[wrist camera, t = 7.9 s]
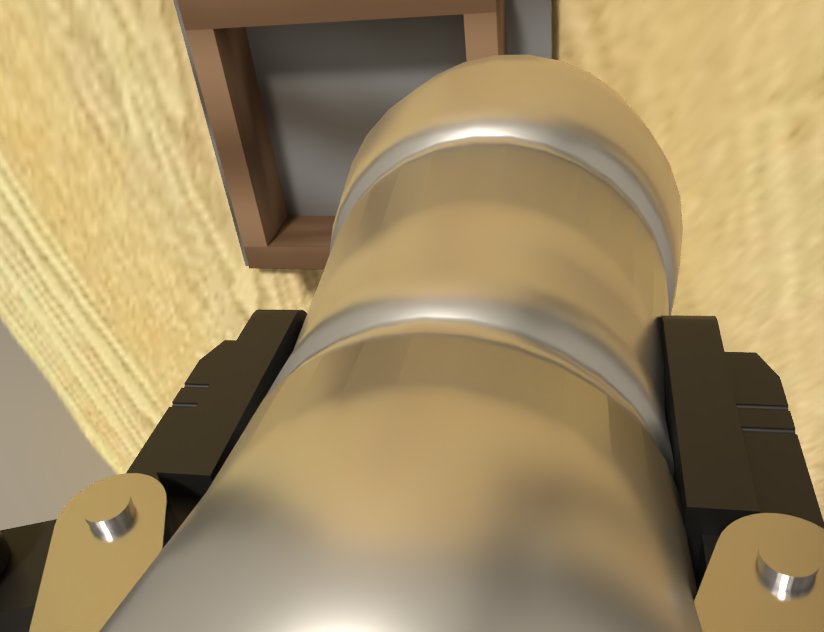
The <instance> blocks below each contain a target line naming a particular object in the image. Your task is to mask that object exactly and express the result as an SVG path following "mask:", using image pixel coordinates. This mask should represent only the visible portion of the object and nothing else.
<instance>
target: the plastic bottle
mask: <svg viewBox="0 0 824 632" xmlns="http://www.w3.org/2000/svg"><path fill="white" fill-rule="evenodd" d="M682 231H683V226H682V214H681V202H680V195H679V191H678V188H677V185H676V182H675V179H674V176H673V173H672V169H671V166H670V164H669V162H668V160H667V159H666V157H665V155H664V153H663V152H662V150H661V148H660V147H659V145H658V143H657V142H656V140H655V138H654V137H653V135H652V133H651V132H650V130H649V129H648V128H647V126H646V125H645V123H644V122H643V121H642V119H641V118H640V116H639V115H638V114H637V113H636V112H635V111H634V110H633V108H632V107H631V106H630V105H629V104H628V103H627V102H626V101H625V100H624V99H623V98H622V97H621V96H620V95H619V93H618V92H617V91H615V90H614V89H612V88H611V87H609V86H608V85H607V84H605V83H604V82H602V81H601V80H599V79H598V78H596V77H595V76H594V75H592V74H591V73H589V72H586V71H584V70H581V69H579V68H577V67H574V66H572V65H569V64H567V63H565V62H562V61H560V60H554V59H549V58H544V57H538V56H533V55H494V56H489V57H485V58H481V59H476V60H472V61H467V62H463V63H461V64H459V65H457V66H455V67H453V68H450V69H448V70H446V71H444V72H442V73H440V74H437V75H435V76H434V77H432V78H431V79H430V80H428V81H427V82H425V83H424V84H422V85H421V86H419V87H418V88H417V89H415V90H414V91H413V92H411V93H410V94H409V95H407V96H406V97H405V98H403V99H402V100H401V101H399V102H398V103H397V104H395V105H394V106H392V107H391V108H390V109H389V110H388V111H387V112H386V113H385V114H384V115H383V117H382V118H381V119H380V120H379V121H378V122H377V124H376V125H375V126H374V127H373V128H372V129H371V130H370V132H369V133H368V134H367V136H366V137H365V139H364V141H363V143H362V145H361V147H360V148H359V150H358V152H357V154H356V156H355V158H354V159H353V161H352V164H351V167H350V171H349V174H348V177H347V180H346V184H345V187H344V190H343V193H342V197H341V200H340V204H339V207H338V210H337V214H336V217H335V221H334V224H333V230H332V237H331V245H330V255H329V258H328V260H327V263H326V266H325V268H324V271H323V274H322V276H321V279H320V282H319V284H318V287H317V289H316V292H315V295H314V297H313V300H312V303H311V305H310V308H309V311H308V313H307V316H306V318H305V321H304V324H303V326H302V329H301V332H300V334H299V337H298V339H297V342H296V345H295V347H294V350H293V352H292V354H291V355H290V357H289V358H288V360H287V362H286V363H285V365H284V366H283V368H282V370H281V371H280V373H279V375H278V376H277V378H276V380H275V381H274V383H273V385H272V386H271V388H270V390H269V391H268V393H267V395H266V396H265V398H264V399H263V401H262V402H261V404H260V406H259V407H258V409H257V410H256V412H255V414H254V415H253V417H252V419H251V420H250V422H249V423H248V425H247V427H246V428H245V430H244V432H243V433H242V435H241V437H240V438H239V440H238V441H237V443H236V445H235V446H234V448H233V450H232V451H231V453H230V455H229V456H228V458H227V459H226V461H225V463H224V464H223V466H222V468H221V469H220V471H219V472H218V474H217V476H216V477H215V479H214V481H213V482H212V484H211V486H210V487H209V489H208V490H207V492H206V493H205V495H204V496H203V497H202V499H201V500H200V501H199V502H198V504H197V505H196V506H195V508H194V509H193V510H192V512H191V513H190V514H189V515H188V517H187V518H186V519H185V521H184V522H183V523H182V525H181V526H180V527H179V528H178V530H177V531H176V532H175V534H174V535H173V536H172V538H171V539H170V540H169V541H168V543H167V544H166V545H165V547H164V548H163V549H162V551H161V552H160V553H159V554H158V556H157V557H156V558H155V560H154V561H153V562H152V564H151V565H150V566H149V567H148V569H147V570H146V571H145V573H144V574H143V575H142V577H141V578H140V579H139V580H138V582H137V583H136V584H135V586H134V587H133V588H132V590H131V591H130V592H129V593H128V595H127V596H126V597H125V599H124V600H123V601H122V603H121V604H120V605H119V606H118V608H117V609H116V610H115V612H114V613H113V614H112V616H111V617H110V618H109V619H108V621H107V622H106V623H105V625H104V626H103V627H102V629H101V630H100V631H99V632H702V628H701V625H700V621H699V618H698V614H697V611H696V607H695V604H694V600H695V598H696V595H697V587H696V582H695V576H694V571H693V565H692V560H691V554H690V549H689V543H688V538H687V532H686V529H685V526H684V520H683V513H682V506H681V500H680V494H679V492H678V489H677V487H676V484H675V482H674V479H673V477H674V460H673V455H672V449H671V444H670V439H669V433H668V428H667V423H666V409H665V379H664V358H663V344H662V330H661V315H665V316H670V315H671V311H672V307H673V303H674V299H675V294H676V288H677V281H678V274H679V267H680V256H681V244H682Z"/></svg>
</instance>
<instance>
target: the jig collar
mask: <svg viewBox="0 0 824 632" xmlns="http://www.w3.org/2000/svg"><path fill="white" fill-rule="evenodd" d="M174 4H175V8H176V11H177V15H178V19H179V22H180V26H181V30H182V33H183V37H184V41H185V44H186V48H187V52H188V55H189V59H190V63H191V66H192V70H193V74H194V77H195V81H196V85H197V88H198V92H199V96H200V99H201V103H202V107H203V111H204V114H205V118H206V122H207V125H208V129H209V133H210V136H211V140H212V144H213V147H214V151H215V155H216V158H217V162H218V166H219V169H220V173H221V177H222V180H223V184H224V188H225V191H226V195H227V199H228V202H229V206H230V210H231V213H232V217H233V221H234V224H235V228H236V232H237V235H238V239H239V243H240V247H241V250H242V254H243V258H244V261H245V265H246V266H249V268H274V269H324V268H325V266H326V263H327V260H328V258H329V255H330V245H331V237H332V230H333V224H334V221H335V217H336V214H337V210H338V207H339V204H340V200H341V197H342V193H343V190H344V187H345V184H346V180H347V177H348V174H349V171H350V167H351V164H352V161H353V159H354V158H355V156H356V154H357V152H358V150H359V148H360V147H361V145H362V143H363V141H364V139H365V137H366V136H367V134H368V133H369V132H370V130H371V129H372V128H373V127H374V126H375V125H376V124H377V122H378V121H379V120H380V119H381V118H382V117H383V115H384V114H385V113H386V112H387V111H388V110H389V109H390V108H391V107H392V106H394V105H395V104H397V103H398V102H399V101H401V100H402V99H403V98H405V97H406V96H407V95H409V94H410V93H411V92H413V91H414V90H415V89H417V88H418V87H419V86H421V85H422V84H424V83H425V82H427V81H428V80H430V79H431V78H432V77H434V76H435V75H437V74H440V73H442V72H444V71H446V70H448V69H450V68H453V67H455V66H457V65H459V64H461V63H463V62H467V61H472V60H476V59H481V58H485V57H489V56H494V55H533V56H538V57H544V58H549V59H553V25H552V0H174Z"/></svg>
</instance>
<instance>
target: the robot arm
mask: <svg viewBox="0 0 824 632" xmlns="http://www.w3.org/2000/svg"><path fill="white" fill-rule="evenodd" d="M306 316H307V313H306V312H305V311H303V310H256V311H255V312H254V313H253V314H252V316H251V317H250V319H249V321H248V322H247V324H246V326H245V327H244V329H243V331H242V332H241V334H240V336H239V337H238V339H237V340H236V341H234V340H225V341H223V342H222V343H221V344H219V345H218V346H217V347H216V348H214V349H213V350H212V351H211V352H209V353H208V354H207V355H206V356H204V357H203V358H202V359H200V360H199V362H198V363H197V365H196V366H195V368H194V370H193V371H192V373H191V374H190V376H189V377H188V379H187V380H186V382H185V387H184V388H181V390H180V391H179V393H178V394H177V396H176V397H175V399H174V400H173V402H172V403H173V405H172V407H169V408H168V410H167V411H166V413H165V414H164V416H163V417H162V419H161V420H160V422H159V423H158V425H157V426H156V428H155V430H154V431H153V433H152V434H151V436H150V437H149V439H148V440H147V442H146V443H145V445H144V446H143V448H142V450H141V451H140V453H139V454H138V456H137V457H136V459H135V460H134V462H133V463H132V465H131V466H130V468H129V470H128V471H127V473H126V474H119V475H115V476H112V477H108V478H105V479H103V480H100V481H98V482H96V483H94V484H92V485H90V486H89V487H87V488H85V489H84V490H82V491H81V492H80V493H78V494H77V495H76V496H75V497H73V498H72V500H70V501H69V502H68V504H67V505H66V506H65V507H64V508H63V510H62V511H61V513H60V515H59V516H58V518H57V519H56V520H52V521H46V522H41V523H36V524H32V525H26V526H21V527H16V528H11V529H6V530H1V531H0V632H99V631H100V630H101V629H102V627H103V626H104V625H105V623H106V622H107V621H108V619H109V618H110V617H111V616H112V614H113V613H114V612H115V610H116V609H117V608H118V606H119V605H120V604H121V603H122V601H123V600H124V599H125V597H126V596H127V595H128V593H129V592H130V591H131V590H132V588H133V587H134V586H135V584H136V583H137V582H138V580H139V579H140V578H141V577H142V575H143V574H144V573H145V571H146V570H147V569H148V567H149V566H150V565H151V564H152V562H153V561H154V560H155V558H156V557H157V556H158V554H159V553H160V552H161V551H162V549H163V548H164V547H165V545H166V544H167V543H168V541H169V540H170V539H171V538H172V536H173V535H174V534H175V532H176V531H177V530H178V528H179V527H180V526H181V525H182V523H183V522H184V521H185V519H186V518H187V517H188V515H189V514H190V513H191V512H192V510H193V509H194V508H195V506H196V505H197V504H198V502H199V501H200V500H201V499H202V497H203V496H204V495H205V493H206V492H207V490H208V489H209V487H210V486H211V484H212V482H213V481H214V479H215V477H216V476H217V474H218V472H219V471H220V469H221V468H222V466H223V464H224V463H225V461H226V459H227V458H228V456H229V455H230V453H231V451H232V450H233V448H234V446H235V445H236V443H237V441H238V440H239V438H240V437H241V435H242V433H243V432H244V430H245V428H246V427H247V425H248V423H249V422H250V420H251V419H252V417H253V415H254V414H255V412H256V410H257V409H258V407H259V406H260V404H261V402H262V401H263V399H264V398H265V396H266V395H267V393H268V391H269V390H270V388H271V386H272V385H273V383H274V381H275V380H276V378H277V376H278V375H279V373H280V371H281V370H282V368H283V366H284V365H285V363H286V362H287V360H288V358H289V357H290V355H291V354H292V352H293V350H294V347H295V345H296V342H297V339H298V337H299V334H300V332H301V329H302V326H303V324H304V321H305V318H306ZM661 330H662V344H663V358H664V379H665V409H666V423H667V428H668V433H669V439H670V444H671V449H672V455H673V460H674V477H673V479H674V482H675V484H676V487H677V489H678V492H679V494H680V500H681V506H682V513H683V520H684V526H685V529H686V532H687V538H688V543H689V549H690V554H691V560H692V565H693V571H694V576H695V582H696V587H697V595H696V598H695V600H694V604H695V607H696V611H697V614H698V618H699V621H700V625H701V628H702V632H824V522H823V518H822V515H821V512H820V508H819V505H818V502H817V499H816V495H815V492H814V489H813V485H812V482H811V479H810V475H809V472H808V469H807V466H806V462H805V459H804V456H803V452H802V449H801V446H800V442H799V439H798V436H797V434H795V426H794V423H793V419H792V416H791V413H790V411H788V403H787V400H786V396H785V393H784V390H783V386H782V383H781V380H780V377H779V376H778V375H777V374H776V373H775V372H774V371H773V370H772V369H771V368H770V367H769V366H768V365H767V364H766V363H765V361H764V360H763V359H762V358H761V357H760V356H759V355H758V354H757V353H747V352H724V348H723V344H722V339H721V335H720V330H719V326H718V321H717V318H716V317H715V316H665V315H661Z"/></svg>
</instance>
